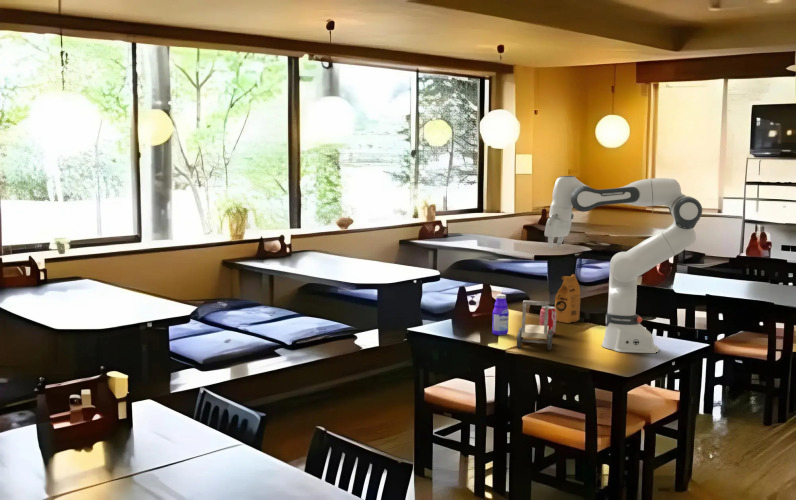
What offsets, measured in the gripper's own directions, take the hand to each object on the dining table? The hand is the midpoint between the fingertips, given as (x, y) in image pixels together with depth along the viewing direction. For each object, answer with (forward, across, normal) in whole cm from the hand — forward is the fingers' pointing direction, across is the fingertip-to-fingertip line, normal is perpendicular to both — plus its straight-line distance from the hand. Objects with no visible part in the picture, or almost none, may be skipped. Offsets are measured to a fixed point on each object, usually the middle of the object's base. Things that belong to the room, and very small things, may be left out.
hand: (554, 247), depth 327 cm
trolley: (+40, -9, -2) cm, 42 cm away
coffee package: (+39, +50, +5) cm, 63 cm away
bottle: (+42, +2, +18) cm, 46 cm away
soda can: (+40, +16, +2) cm, 43 cm away
